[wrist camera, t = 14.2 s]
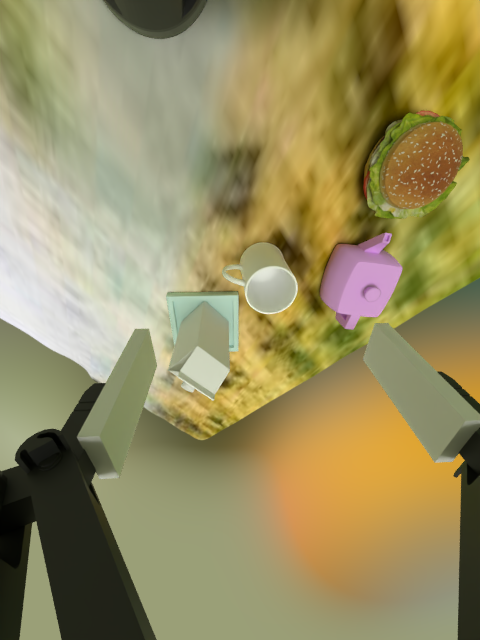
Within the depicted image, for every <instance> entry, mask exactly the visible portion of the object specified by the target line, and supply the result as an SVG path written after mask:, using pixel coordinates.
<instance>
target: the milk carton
mask: <svg viewBox="0 0 480 640" xmlns="http://www.w3.org/2000/svg"><path fill="white" fill-rule="evenodd" d="M168 371H170V372H171V373H173V374H174V375H176V376H177V377H178V378H179V379H181V380H183V383H182V385H181V387H182V388H184V389H185V390H187V391H189V392H193V391H194V389H196V390H198V391H199V392H201V393H202V394H204V395H205V396H207V397H208V398H210V399H211V400H214V397H215V393H216V392H217V390H218V389H219V387H220V385H221V384H222V382H223V381H224V379H225V377H226V376H227V374H228V373H229V371H230V361H229V322H228V321H227V320H226V319H225V318H224V317H223V316H222V315H221V314H219V313H218V312H217V311H216V310H215V309H214V308H212V307H211V306H210V305H209V304H208V303H207V302H205V301H204V302H202V303H201V304H200V305H199V306H198V307H197V308H196V309H195V310H194V311H192V312H191V313H190V314H189V315H188V316H187V317H186V318H185V319H184V320H183V321H182V322H181V325H180V328H179V332H178V336H177V339H176V343H175V347H174V350H173V354H172V358H171V361H170V365H169V369H168Z"/></svg>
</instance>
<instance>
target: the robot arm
mask: <svg viewBox="0 0 480 640" xmlns="http://www.w3.org/2000/svg"><path fill="white" fill-rule="evenodd" d="M103 1H104V2H105V4H106V5H107V6H108V8H109V9H110V10H111V11H112V12H113V14H114V15H115V16H116V17H117V18H118V19H119V20H120V21H121V22H122V23H124V24H125V25H126V26H128V27H129V28H130V29H132V30H134V31H135V32H137V33H139V34H141V35H144V36H147V37H151V38H169V37H173V36H175V35H178V34H180V33H181V32H183V31H185V30H186V29H187V28H188V27H189V26H191V25H192V24H193V22H194V21H195V20H196V19H197V17H198V16H199V15H200V13H201V11H202V10H203V8H204V6H205V4H206V1H207V0H103ZM363 360H364V362H365V363H366V365H367V366H368V367H369V369H370V370H371V372H372V373H373V374H374V376H375V377H376V379H377V380H378V382H379V383H380V384H381V386H382V387H383V389H384V390H385V392H386V393H387V395H388V396H389V397H390V399H391V400H392V402H393V403H394V405H395V406H396V407H397V409H398V410H399V412H400V413H401V414H402V416H403V418H404V419H405V420H406V422H407V423H408V425H409V426H410V428H411V429H412V430H413V432H414V433H415V435H416V436H417V438H418V439H419V440H420V442H421V443H422V445H423V446H424V447H425V449H426V450H427V452H428V453H429V455H430V456H431V458H432V459H433V461H434V462H452V461H453V460H454V459H455V457H456V456H457V455H458V454H460V455H461V456H462V457H463V459H464V460H465V461H464V462H463V463H462V465H461V466H460V467H459V468H458V469H457V471H456V472H455V473H454V477H458V475H459V474H461V517H460V562H459V609H458V640H480V404H479V403H478V402H477V401H476V400H475V399H474V398H473V397H470V395H469V394H468V393H467V392H466V391H465V390H464V389H462V387H461V386H460V385H459V384H458V383H457V382H456V381H455V380H453V379H452V378H451V377H449V376H448V375H446V374H444V373H443V372H437V371H435V369H434V368H433V367H431V366H430V365H429V364H428V363H427V362H426V361H425V360H424V359H423V358H422V357H421V356H420V355H419V354H418V353H417V352H416V351H415V350H414V349H413V348H412V347H411V346H410V345H409V344H408V343H407V342H406V341H405V340H404V339H403V338H402V337H401V336H400V335H399V334H398V333H397V332H396V331H395V330H394V329H393V328H392V327H391V326H390V325H389V324H388V323H375V325H374V328H373V331H372V334H371V337H370V340H369V343H368V346H367V349H366V352H365V355H364V358H363ZM156 367H157V363H156V359H155V354H154V350H153V345H152V341H151V336H150V332H149V329H135V330H134V332H133V334H132V336H131V338H130V339H129V341H128V343H127V345H126V347H125V349H124V350H123V352H122V354H121V356H120V358H119V360H118V362H117V363H116V365H115V367H114V369H113V371H112V373H111V375H110V376H109V378H108V380H107V382H106V383H95V384H93V385H92V386H91V387H90V388H89V389H88V390H86V391H85V393H84V394H83V395H82V397H81V399H80V401H79V403H78V404H77V405H76V407H75V409H74V412H72V414H71V415H70V417H69V419H68V420H67V422H66V424H65V425H64V427H63V428H62V430H61V431H59V430H56V429H47V430H43V431H41V432H38V433H36V434H34V435H33V436H31V437H30V438H28V439H27V440H26V441H25V442H24V443H23V444H22V445H21V446H20V447H19V449H18V451H17V452H16V456H15V461H16V462H17V463H18V464H19V466H17V467H14V468H10V469H7V470H4V471H0V640H19V637H20V628H21V619H22V610H23V600H24V590H25V583H26V573H27V564H28V555H29V546H30V537H31V528H32V523H33V522H35V521H37V526H38V530H39V535H40V540H41V545H42V549H43V554H44V558H45V563H46V568H47V573H48V577H49V582H50V586H51V591H52V596H53V601H54V606H55V610H56V614H57V620H58V624H59V629H60V633H61V638H62V640H156V637H155V635H154V633H153V630H152V628H151V626H150V623H149V620H148V618H147V615H146V613H145V611H144V608H143V606H142V603H141V601H140V599H139V596H138V593H137V591H136V589H135V586H134V584H133V581H132V579H131V577H130V574H129V572H128V569H127V567H126V564H125V562H124V560H123V557H122V555H121V552H120V550H119V547H118V545H117V542H116V540H115V538H114V535H113V533H112V530H111V528H110V526H109V523H108V521H107V518H106V516H105V513H104V511H103V509H102V506H101V503H100V501H99V499H98V496H97V494H96V491H95V489H94V486H93V484H92V483H91V481H92V479H93V477H94V474H95V472H96V473H97V475H98V476H99V478H100V479H107V478H119V477H120V474H121V471H122V469H123V466H124V462H125V459H126V457H127V454H128V451H129V448H130V445H131V441H132V439H133V435H134V433H135V429H136V427H137V424H138V421H139V418H140V415H141V412H142V409H143V406H144V403H145V400H146V397H147V394H148V391H149V388H150V385H151V382H152V379H153V376H154V373H155V370H156Z"/></svg>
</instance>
